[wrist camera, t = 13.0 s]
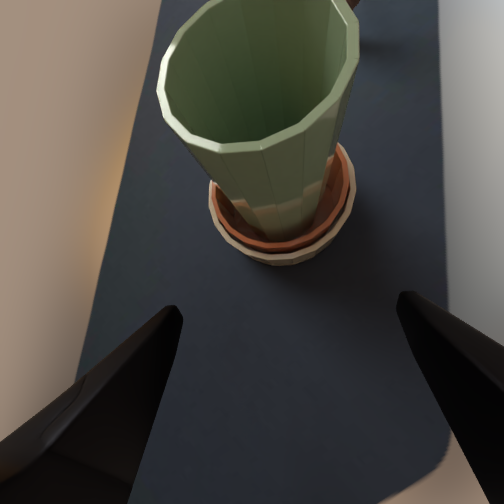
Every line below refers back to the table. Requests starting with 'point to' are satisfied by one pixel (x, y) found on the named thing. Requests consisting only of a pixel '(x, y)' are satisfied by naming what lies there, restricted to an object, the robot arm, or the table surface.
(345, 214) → the stack base cup
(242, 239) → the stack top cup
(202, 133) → the tumbler
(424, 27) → the table surface
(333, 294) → the table surface
